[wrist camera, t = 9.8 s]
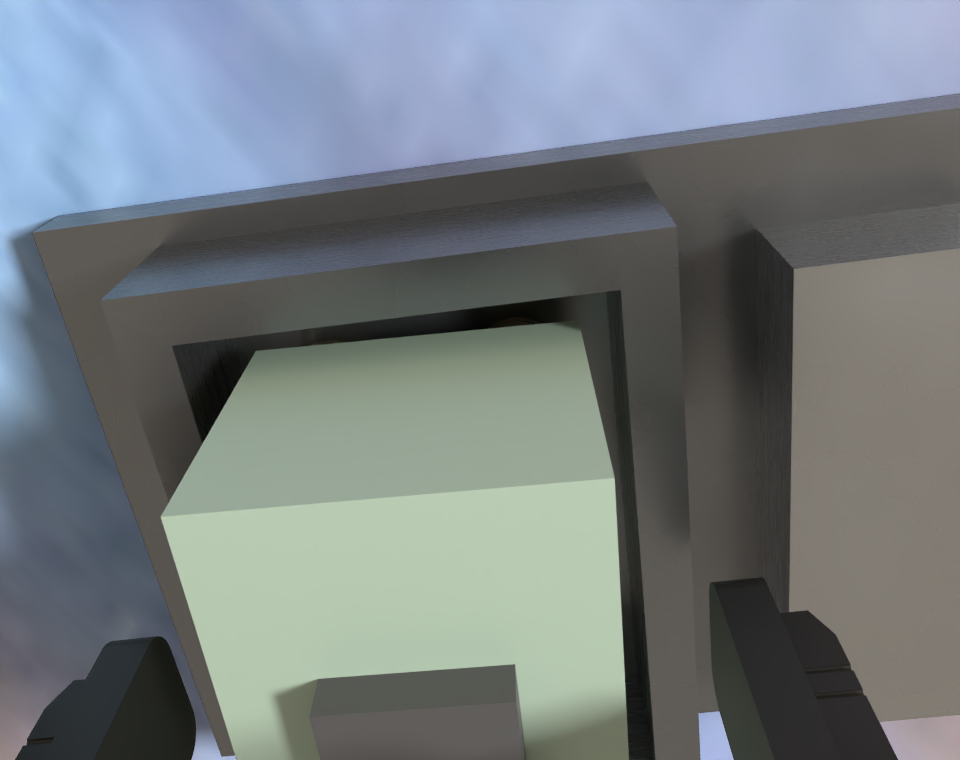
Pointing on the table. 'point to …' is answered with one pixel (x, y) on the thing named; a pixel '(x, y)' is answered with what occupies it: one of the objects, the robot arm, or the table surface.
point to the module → (410, 552)
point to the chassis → (612, 361)
